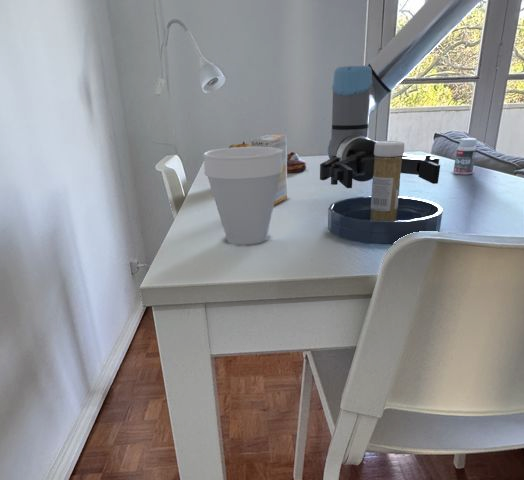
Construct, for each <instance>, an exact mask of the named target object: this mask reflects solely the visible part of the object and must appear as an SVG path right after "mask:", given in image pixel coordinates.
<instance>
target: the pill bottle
mask: <svg viewBox="0 0 524 480" xmlns="http://www.w3.org/2000/svg"><path fill="white" fill-rule="evenodd" d="M477 141H478V139H477V138H476V137H475V138H474V137H463V138H460V139H459V146H458V147H457V148H456V153H455V159H454V166H453V171H452V173H453V174H455V175H463V176H464V175H465V176H466V175H471V174H473V171H474V165H475V160H476V154H477V146H476V145H477V143H478V142H477Z"/></svg>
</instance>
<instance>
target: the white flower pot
mask: <svg viewBox="0 0 524 480" xmlns="http://www.w3.org/2000/svg"><path fill="white" fill-rule="evenodd" d="M281 153H282V150H281V149H279V148H273V147H233V148H229V147H223V148H218V149H217V148H216V149H210V150H208V151H205V152H203V154H202V155H203V165H204V166H203V167H204V169H203V170H204V175H205V176H206V177H207V180H208V183H209V186H210V189H211V193H212V195H213V198H214V199H213V200H214V202H215V206H216V209H217V212H218V215H219V218H220V221H221V225H222V228H223V231H224V232H223V233H224V234H225V238H226V241H227V242H228V243H230V244H233V245H241V246H245V245H247V246H248V245H256V244H260V243H263V242H266V241H267V240H268V236H269V231H270V226H271V221H272V217H273V210H274V207H275V205H274V201H275V196H276V191H277V186H278V181H279V176H280V173H281V172H282V170H283V169H282V157H281Z"/></svg>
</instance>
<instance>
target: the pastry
mask: <svg viewBox="0 0 524 480" xmlns="http://www.w3.org/2000/svg"><path fill="white" fill-rule="evenodd" d="M306 169H307V162H306V161H305V160H304V159H301V158H300V156H299V155H298V154H297V153H296V152H295V151H291V152H290V153H287V173H300V172H304V171H306Z"/></svg>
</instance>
